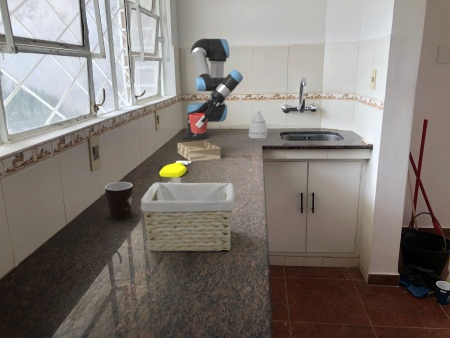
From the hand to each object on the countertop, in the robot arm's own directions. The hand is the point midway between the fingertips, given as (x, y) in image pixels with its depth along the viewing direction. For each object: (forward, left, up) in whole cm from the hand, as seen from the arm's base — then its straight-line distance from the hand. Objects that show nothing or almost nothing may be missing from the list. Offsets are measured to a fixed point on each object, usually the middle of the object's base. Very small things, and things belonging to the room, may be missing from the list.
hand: (193, 124), depth 196 cm
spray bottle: (+23, -17, -18) cm, 34 cm away
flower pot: (0, +3, -4) cm, 5 cm away
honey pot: (-36, +59, -17) cm, 72 cm away
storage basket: (+96, -34, -17) cm, 103 cm away
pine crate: (0, +2, -17) cm, 17 cm away
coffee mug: (+69, -48, -17) cm, 86 cm away
